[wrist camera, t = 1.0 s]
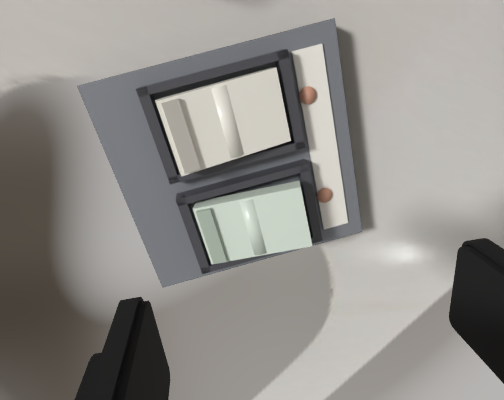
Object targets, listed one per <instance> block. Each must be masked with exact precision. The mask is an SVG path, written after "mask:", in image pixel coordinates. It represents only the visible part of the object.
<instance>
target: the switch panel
mask: <svg viewBox="0 0 504 400" xmlns="http://www.w3.org/2000/svg"><path fill="white" fill-rule="evenodd" d="M275 67H276V68H277V73H278V78H279V83H280V88H281V93H282V98H283V103H284V108H285V113H286V118H287V123H288V128H289V133H290V138H291V141H289V142H286V143H283V144H280V145H277V146H274V147H270V148H267V149H264V150H261V151H258V152H255V153H252V154H249V155H246V156H243V157H240V158H237V159H234V160H231V161H228V162H225V163H221V164H218V165H215V166H212V167H209V168H206V169H203V170H200V171H197V172H194V173H191V174H188V175H185V176H182V177H181V174H180V172H179V169H178V166H177V163H176V160H175V157H174V154H173V151H172V149H171V146H170V143H169V140H168V137H167V134H166V131H165V128H164V125H163V122H162V119H161V117H160V114H159V111H158V108H157V105H156V102H155V100H157V99H160V98H164V97H167V96H171V95H174V94H178V93H181V92H185V91H189V90H192V89H196V88H199V87H203V86H206V85H210V84H214V83H217V82H221V81H224V80H228V79H231V78H235V77H239V76H242V75H246V74H249V73H253V72H256V71H260V70H264V69H267V68H275ZM77 87H78V90H79V92H80V94H81V97H82V99H83V101H84V104H85V106H86V108H87V111H88V113H89V116H90V118H91V120H92V122H93V125H94V127H95V129H96V131H97V134H98V137H99V139H100V141H101V144H102V146H103V149H104V151H105V153H106V156H107V158H108V160H109V163H110V165H111V167H112V170H113V172H114V174H115V177H116V179H117V181H118V184H119V186H120V189H121V191H122V193H123V195H124V198H125V200H126V203H127V205H128V207H129V210H130V212H131V214H132V217H133V219H134V221H135V224H136V226H137V229H138V231H139V233H140V235H141V238H142V240H143V243H144V245H145V247H146V250H147V252H148V254H149V257H150V259H151V261H152V264H153V266H154V269H155V271H156V273H157V276H158V278H159V280H160V283H161V285H162V287H166V286H170V285H174V284H177V283H181V282H184V281H188V280H192V279H195V278H199V277H202V276H206V275H209V274H212V273H216V272H220V271H224V270H227V269H231V268H234V267H238V266H241V265H245V264H248V263H252V262H255V261H259V260H263V259H266V258H270V257H274V256H277V255H281V254H284V253H288V252H291V251H295V250H298V249H295V250H289V251H284V252H278V253H272V254H267V255H261V256H256V257H250V258H245V259H239V260H233V261H228V262H224V263H218V264H211V261H210V258H209V255H208V252H207V250H206V247H205V244H204V241H203V238H202V235H201V232H200V229H199V226H198V223H197V220H196V217H195V215H194V212H193V207H194V205H195V203H196V202H198V201H202V200H207V199H212V198H217V197H222V196H227V195H232V194H236V193H241V192H246V191H251V190H256V189H261V188H266V187H271V186H275V185H280V184H285V183H290V182H295V181H300V186H301V191H302V196H303V201H304V206H305V211H306V216H307V221H308V226H309V231H310V236H311V241H312V246H313V245H316V244H320V243H324V242H327V241H331V240H334V239H338V238H341V237H345V236H349V235H352V234H356V233H359V232H362V227H361V219H360V212H359V204H358V196H357V188H356V180H355V172H354V165H353V157H352V149H351V141H350V133H349V125H348V118H347V110H346V102H345V94H344V86H343V78H342V71H341V63H340V55H339V47H338V39H337V32H336V24H335V18H334V19H330V20H326V21H322V22H318V23H315V24H311V25H307V26H303V27H299V28H296V29H292V30H288V31H284V32H280V33H277V34H273V35H269V36H265V37H261V38H258V39H254V40H250V41H246V42H242V43H239V44H235V45H231V46H227V47H223V48H220V49H216V50H212V51H208V52H204V53H201V54H197V55H193V56H189V57H185V58H182V59H178V60H174V61H170V62H166V63H162V64H159V65H155V66H151V67H147V68H143V69H140V70H136V71H132V72H128V73H124V74H121V75H117V76H113V77H109V78H105V79H102V80H98V81H94V82H90V83H87V84H83V85H79V86H77ZM300 249H302V248H300Z"/></svg>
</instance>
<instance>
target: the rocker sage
mask: <svg viewBox="0 0 504 400" xmlns="http://www.w3.org/2000/svg"><path fill="white" fill-rule="evenodd" d="M193 212H194V215H195V217H196V220H197V223H198V226H199V229H200V232H201V235H202V238H203V241H204V244H205V247H206V250H207V252H208V255H209V258H210V261H211V264H218V263H224V262H228V261H233V260H239V259H245V258H250V257H256V256H261V255H267V254H272V253H278V252H284V251H289V250H295V249H300V248H305V247H311V246H312V241H311V236H310V231H309V226H308V221H307V216H306V211H305V206H304V201H303V196H302V191H301V186H300V181H295V182H290V183H285V184H280V185H275V186H271V187H266V188H261V189H256V190H251V191H246V192H241V193H236V194H232V195H227V196H222V197H217V198H212V199H207V200H202V201H198V202H196V203H195V205H194V207H193Z"/></svg>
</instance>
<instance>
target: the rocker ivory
mask: <svg viewBox="0 0 504 400" xmlns="http://www.w3.org/2000/svg"><path fill="white" fill-rule="evenodd" d="M155 102H156V105H157V108H158V111H159V114H160V117H161V119H162V122H163V125H164V128H165V131H166V134H167V137H168V140H169V143H170V146H171V149H172V151H173V154H174V157H175V160H176V163H177V166H178V169H179V172H180V174H181V177H182V176H185V175H188V174H191V173H194V172H197V171H200V170H203V169H206V168H209V167H212V166H215V165H218V164H221V163H225V162H228V161H231V160H234V159H237V158H240V157H243V156H246V155H249V154H252V153H255V152H258V151H261V150H264V149H267V148H270V147H274V146H277V145H280V144H283V143H286V142H289V141H291V138H290V133H289V128H288V123H287V118H286V113H285V108H284V103H283V98H282V93H281V88H280V83H279V78H278V73H277V68H276V67H275V68H267V69H264V70H260V71H256V72H253V73H249V74H246V75H242V76H239V77H235V78H231V79H228V80H224V81H221V82H217V83H214V84H210V85H206V86H203V87H199V88H196V89H192V90H189V91H185V92H181V93H178V94H174V95H171V96H167V97H164V98H160V99H157V100H155Z"/></svg>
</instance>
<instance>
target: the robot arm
mask: <svg viewBox="0 0 504 400" xmlns="http://www.w3.org/2000/svg"><path fill="white" fill-rule="evenodd" d="M449 320H450V323H451V325H452V327H453V328H454V329H455V330H456V331H457V333H458V334H459V335H460V336H461V337H462V338H463V339H464V340H465V342H466V343H467V344H468V345H469V346H470V347H471V348H472V349H473V350H474V351H475V353H476V354H477V355H478V356H479V357H480V358H481V359H482V360H483V361H484V362H485V363H486V365H487V366H488V367H489V368H490V369H491V370H492V371H493V372H494V373H495V374H496V376H497V377H498V378H499V379H500V380H501V381H502V382H503V383H504V249H503V248H501V247H500V246H498V245H496V244H495V243H493V242H492V241H490V240H488V239H486V238H482V239H476V240H470V241H466V242H464V243H463V244H462V247H460V248H459V249H458V254H457V261H456V268H455V275H454V283H453V290H452V297H451V305H450V312H449ZM169 386H170V372H169V366H168V363H167V359H166V356H165V352H164V349H163V346H162V342H161V339H160V336H159V331H158V328H157V324H156V321H155V318H154V314H153V310H152V307H151V304H150V302H149V301H143V299H142V298H141V297H137V298H132V299H126V300H121V301H120V302H119V305H118V307H117V310H116V313H115V316H114V319H113V322H112V325H111V328H110V331H109V333H108V336H107V339H106V343H105V345H104V348H103V351H102V353H97V354H94V355H93V356H92V357H91V359H90V361H89V363H88V366H87V368H86V371H85V374H84V376H83V379H82V382H81V384H80V387H79V390H78V392H77V395H76V398H75V400H168V396H169Z"/></svg>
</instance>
